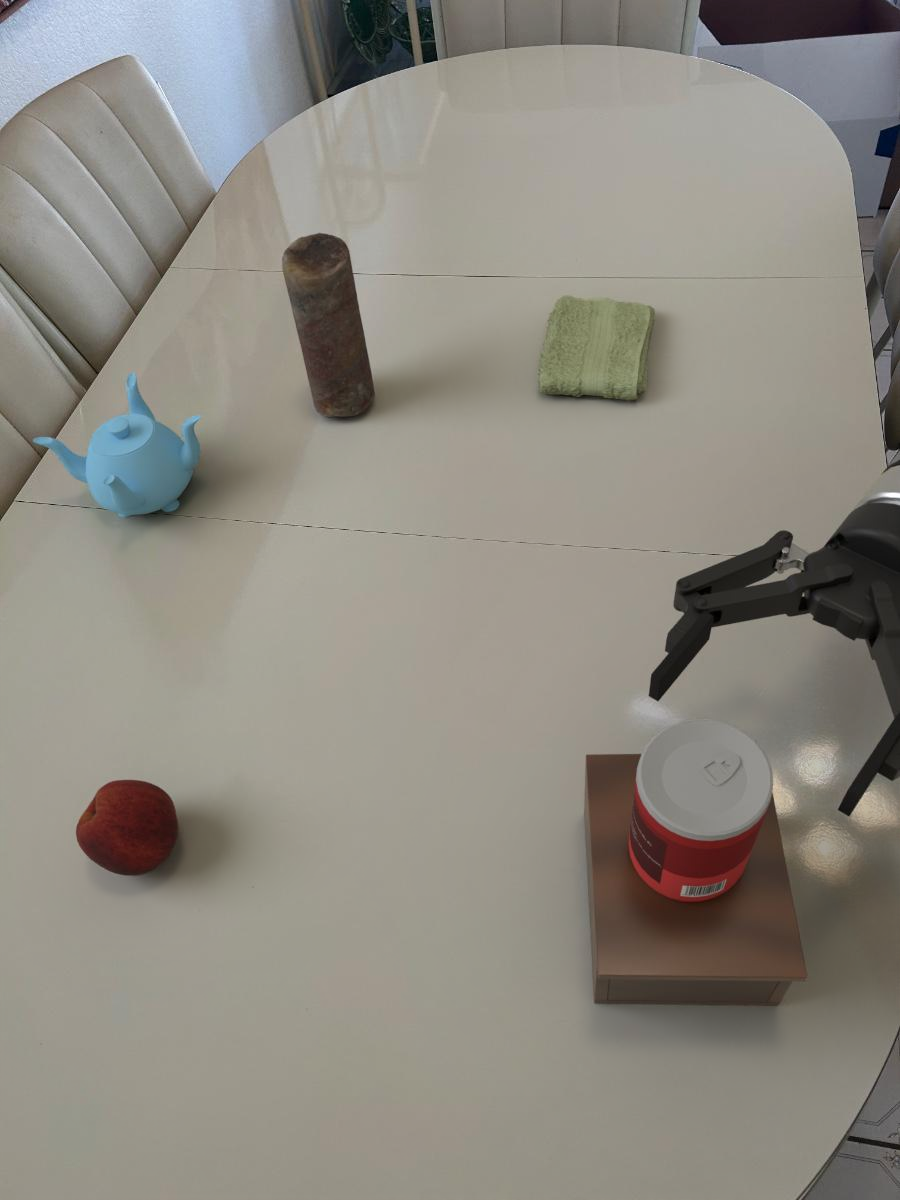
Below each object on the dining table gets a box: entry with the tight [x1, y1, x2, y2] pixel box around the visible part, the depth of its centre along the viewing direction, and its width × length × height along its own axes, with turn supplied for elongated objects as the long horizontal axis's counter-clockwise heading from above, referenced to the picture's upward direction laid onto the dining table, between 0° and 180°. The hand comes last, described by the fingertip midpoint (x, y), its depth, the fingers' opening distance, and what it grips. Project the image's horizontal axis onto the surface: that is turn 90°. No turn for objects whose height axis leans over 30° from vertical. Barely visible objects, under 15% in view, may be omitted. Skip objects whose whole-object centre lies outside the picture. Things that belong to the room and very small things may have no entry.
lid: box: [585, 753, 808, 982], centre depth 63 cm, size 16×13×1 cm
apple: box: [75, 779, 179, 877], centre depth 75 cm, size 7×8×8 cm
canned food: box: [629, 718, 774, 902], centre depth 59 cm, size 8×8×11 cm
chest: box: [583, 765, 794, 1007], centre depth 67 cm, size 15×13×9 cm
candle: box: [281, 232, 376, 418], centre depth 103 cm, size 8×7×20 cm
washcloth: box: [537, 294, 656, 402], centre depth 111 cm, size 13×18×3 cm
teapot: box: [32, 372, 202, 518], centre depth 101 cm, size 13×13×10 cm
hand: (745, 743), depth 59 cm, fingers open, 13 cm apart
